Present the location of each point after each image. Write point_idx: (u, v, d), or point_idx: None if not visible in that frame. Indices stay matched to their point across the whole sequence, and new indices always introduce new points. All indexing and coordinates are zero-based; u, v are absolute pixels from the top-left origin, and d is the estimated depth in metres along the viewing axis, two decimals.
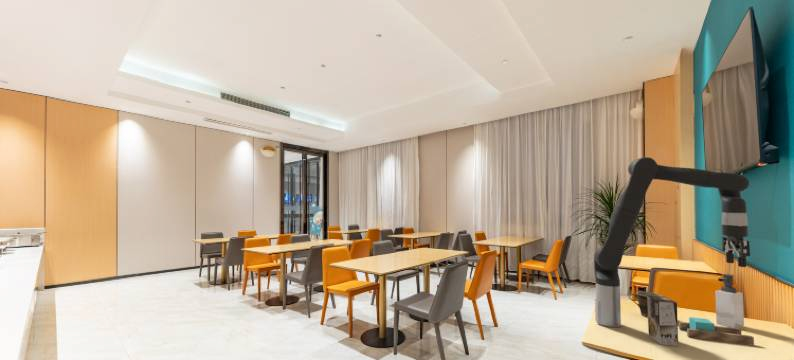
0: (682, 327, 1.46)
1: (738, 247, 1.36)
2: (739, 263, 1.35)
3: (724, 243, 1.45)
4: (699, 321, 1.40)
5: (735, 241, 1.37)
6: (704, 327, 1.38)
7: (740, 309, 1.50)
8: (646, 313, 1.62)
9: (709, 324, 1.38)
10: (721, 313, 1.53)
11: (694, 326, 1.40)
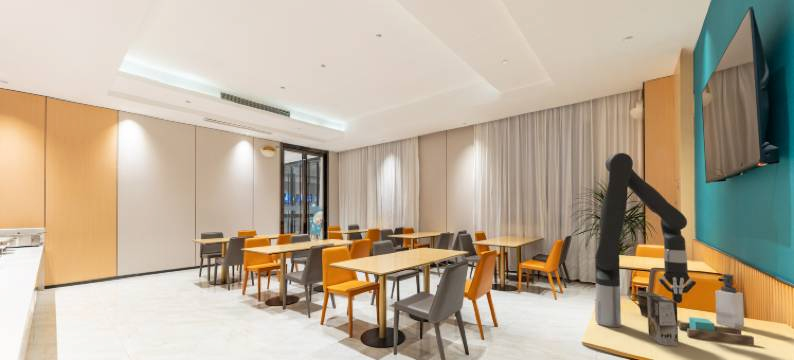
0: (682, 327, 1.46)
1: None
2: (680, 300, 1.43)
3: None
4: (699, 321, 1.40)
5: (685, 280, 1.43)
6: (704, 327, 1.38)
7: (740, 309, 1.50)
8: (646, 313, 1.62)
9: (709, 324, 1.38)
10: (721, 313, 1.53)
11: (694, 326, 1.40)
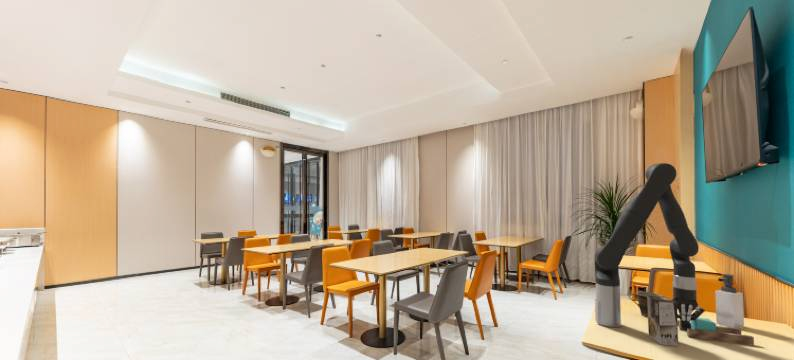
0: None
1: None
2: (687, 327, 1.42)
3: None
4: (701, 321, 1.40)
5: (694, 307, 1.41)
6: (706, 327, 1.38)
7: (740, 309, 1.50)
8: (646, 313, 1.62)
9: (711, 324, 1.38)
10: (721, 313, 1.53)
11: (696, 326, 1.40)
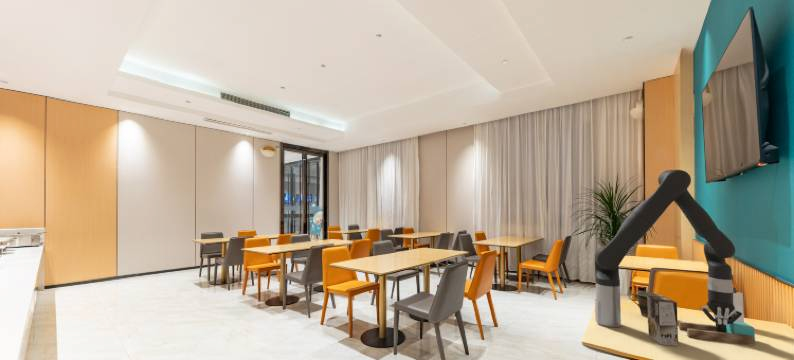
0: (682, 327, 1.46)
1: None
2: (724, 331, 1.38)
3: (709, 313, 1.40)
4: (738, 325, 1.36)
5: (730, 310, 1.37)
6: (743, 331, 1.34)
7: (740, 309, 1.50)
8: (646, 313, 1.62)
9: (749, 328, 1.33)
10: None
11: (732, 330, 1.36)
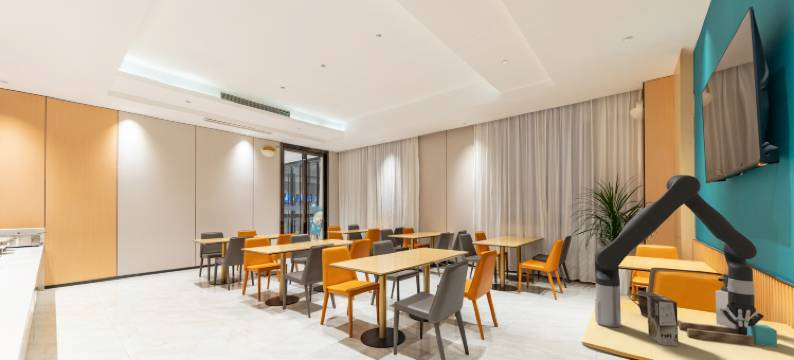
0: (682, 327, 1.46)
1: None
2: (745, 333, 1.35)
3: None
4: (759, 327, 1.33)
5: (752, 312, 1.35)
6: (765, 334, 1.32)
7: None
8: (646, 313, 1.62)
9: (771, 331, 1.31)
10: (721, 313, 1.53)
11: (754, 333, 1.34)
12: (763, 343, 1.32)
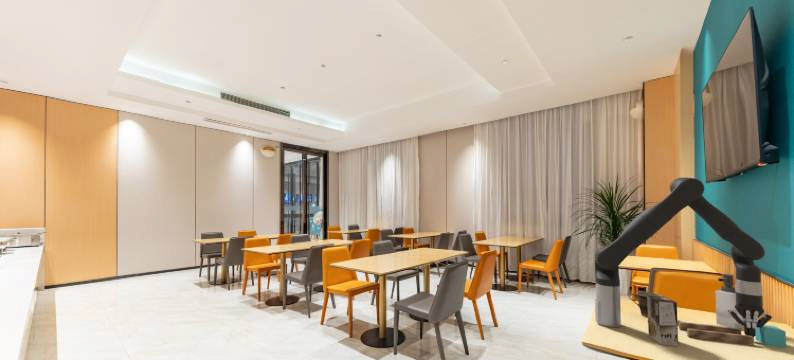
0: (682, 327, 1.46)
1: None
2: (753, 334, 1.35)
3: (737, 316, 1.36)
4: (768, 328, 1.32)
5: (760, 314, 1.34)
6: (774, 335, 1.31)
7: None
8: (646, 313, 1.62)
9: (780, 332, 1.30)
10: (721, 313, 1.53)
11: (762, 334, 1.33)
12: (772, 344, 1.31)
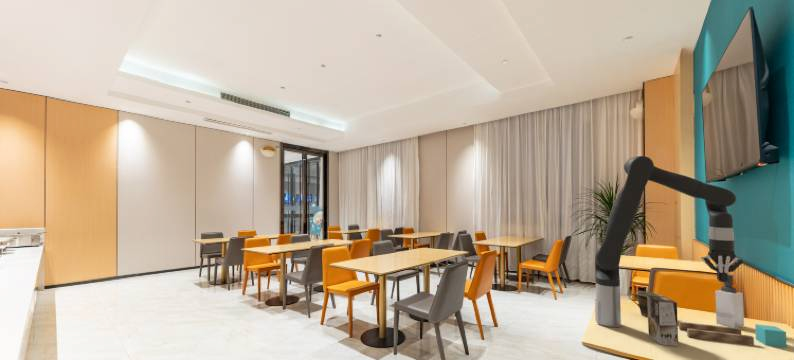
0: (682, 327, 1.46)
1: None
2: (725, 279, 1.39)
3: (710, 262, 1.41)
4: (768, 329, 1.32)
5: (731, 258, 1.38)
6: (775, 335, 1.31)
7: (740, 309, 1.50)
8: (646, 313, 1.62)
9: (780, 332, 1.30)
10: (721, 313, 1.53)
11: (763, 334, 1.33)
12: (772, 344, 1.31)
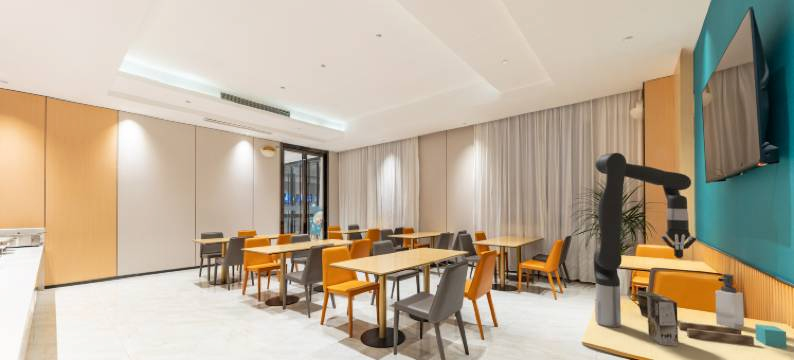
0: (682, 327, 1.46)
1: None
2: (681, 255, 1.54)
3: None
4: (768, 329, 1.32)
5: (686, 237, 1.53)
6: (775, 335, 1.31)
7: (740, 309, 1.50)
8: (646, 313, 1.62)
9: (780, 332, 1.30)
10: (721, 313, 1.53)
11: (763, 334, 1.33)
12: (772, 344, 1.31)
